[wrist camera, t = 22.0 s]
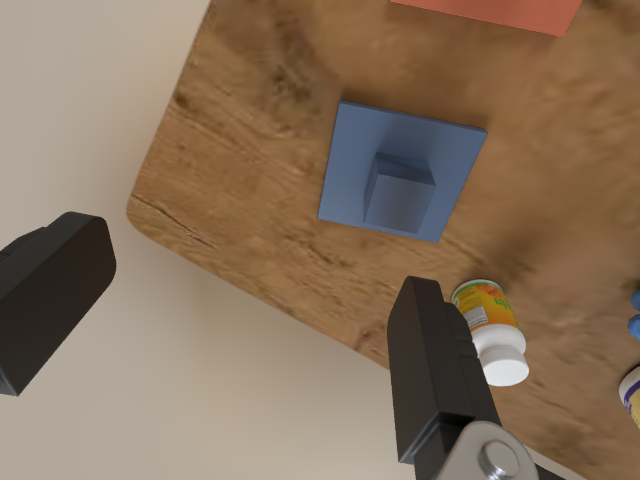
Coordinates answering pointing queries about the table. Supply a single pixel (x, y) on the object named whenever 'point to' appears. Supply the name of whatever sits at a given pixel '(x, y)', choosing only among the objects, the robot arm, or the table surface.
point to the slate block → (398, 193)
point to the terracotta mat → (509, 12)
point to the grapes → (636, 324)
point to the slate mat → (399, 140)
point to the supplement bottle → (493, 331)
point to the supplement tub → (631, 394)
